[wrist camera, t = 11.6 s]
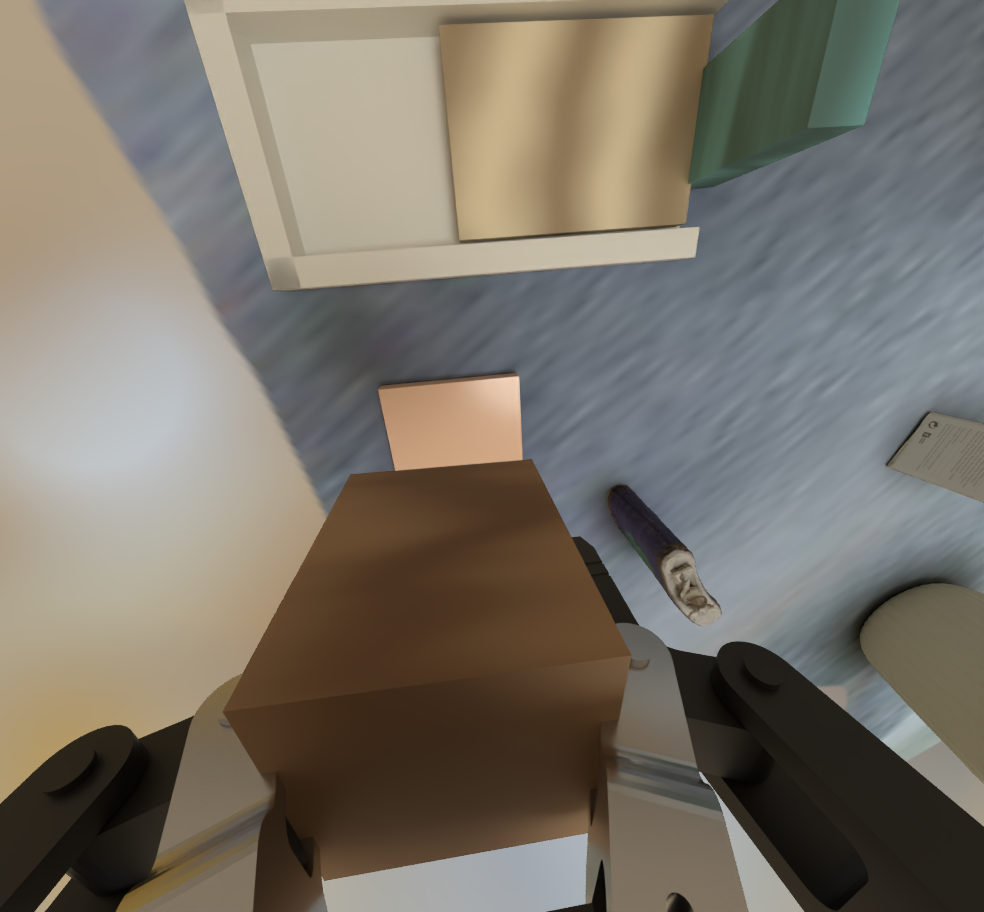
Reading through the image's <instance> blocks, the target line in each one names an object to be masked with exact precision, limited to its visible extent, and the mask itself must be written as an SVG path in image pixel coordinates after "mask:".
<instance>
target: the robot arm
mask: <svg viewBox="0 0 984 912" xmlns="http://www.w3.org/2000/svg"><path fill="white" fill-rule="evenodd" d="M572 539H573V541H574V543H575V545H576V547H577V549H578V551H579V553H580V555H581V557H582V559H583V561H584V563H585V565H586V567H587V569H588V571H589V573H590V575H591V577H592V579H593V581H594V583H595V585H596V587H597V589H598V591H599V593H600V594H601V596H602V598H603V600H604V602H605V604H606V606H607V608H608V610H609V612H610V614H611V616H612V618H613V620H614V622H615V624H616V626H617V628H618V630H619V632H620V634H621V636H622V638H623V640H624V642H625V644H626V646H627V648H628V650H629V652H630V653H631V655H632V656H631V661H630V666H629V671H628V676H627V681H626V687H625V692H624V697H623V702H622V707H621V712H620V717H619V719H615V720H609V721H602V722H601V723H600V729H599V735H598V788H596V789H590V793H589V799H588V846H587V864H586V904H584V905H579V906H573V907H568V908H563V909H559V910H553V911H548V912H748V908H747V904H746V900H745V896H744V893H743V889H742V885H741V881H740V877H739V873H738V869H737V865H736V862H735V858H734V854H733V850H732V846H731V842H730V839H729V835H728V831H727V827H726V823H725V819H724V816H723V812H722V809H721V806H720V803H719V801H718V799H717V796H716V794H715V792H714V791H713V789H714V790H715V791H716V793H717V794H718V795H719V797H720V798H721V799H722V801H723V802H724V803H725V805H726V806H727V807H728V809H729V810H730V811H731V813H732V814H733V816H734V817H735V818H736V820H737V821H738V822H739V824H740V825H741V826H742V828H743V829H744V830H745V832H746V833H747V835H748V836H749V837H750V839H751V840H752V841H753V842H754V844H755V845H756V847H757V848H758V849H759V851H760V852H761V854H762V855H763V856H764V858H765V859H766V860H767V862H768V863H769V864H770V866H771V867H772V868H773V870H774V871H775V872H776V874H777V875H778V877H779V878H780V879H781V881H782V882H783V883H784V884H785V886H786V887H787V889H788V890H789V891H790V893H791V894H792V895H793V897H794V898H795V900H796V901H797V902H798V904H799V905H800V906H801V908H802V909H803V910H804V912H984V826H982V825H981V824H980V823H979V822H977V821H976V820H975V819H974V818H973V817H971V816H970V815H969V814H968V813H967V812H966V811H964V810H963V809H962V808H961V807H959V806H958V805H957V804H956V803H955V802H954V801H952V800H951V799H950V798H949V797H948V796H946V795H945V794H944V793H943V792H942V791H940V790H939V789H938V788H937V787H936V786H934V785H933V784H932V783H931V782H930V781H928V780H927V779H926V778H925V777H924V776H922V775H921V774H920V773H919V772H918V771H916V770H915V769H914V768H913V767H912V766H910V765H909V764H908V763H907V762H906V761H904V760H903V759H902V758H901V757H900V756H899V755H897V754H896V753H895V752H894V751H893V750H891V749H890V748H889V747H888V746H887V745H885V744H884V743H883V742H882V741H881V740H879V739H878V738H877V737H876V736H875V735H873V734H872V733H871V732H870V731H869V730H867V729H866V728H865V727H864V726H863V725H861V724H860V723H859V722H858V721H857V720H855V719H854V718H853V717H852V716H851V715H849V714H848V713H847V712H846V711H845V710H843V709H842V708H841V707H840V706H839V705H837V704H836V703H835V702H834V701H833V700H831V699H830V698H829V697H828V696H827V695H825V694H824V693H823V692H822V691H821V690H819V689H818V688H817V687H816V686H815V685H814V684H812V683H811V682H810V681H809V680H808V679H806V678H805V677H804V676H803V675H802V674H800V673H799V672H798V671H797V670H796V669H794V668H793V667H792V666H791V665H790V664H788V663H787V662H786V661H785V660H783V659H782V658H781V657H779V656H778V655H776V654H775V653H773V652H771V651H769V650H767V649H765V648H763V647H761V646H758V645H755V644H752V643H747V642H738V641H737V642H730V643H727V644H725V645H724V646H722V647H721V648H720V650H719V652H718V654H717V657H713V656H707V655H701V654H695V653H690V652H684V651H679V650H675V649H672V648H669V647H667V646H666V645H665V644H664V643H663V641H662V640H661V639H660V638H659V637H657V636H656V635H655V634H654V633H652V632H651V631H649V630H648V629H646V628H644V627H641V626H639V624H638V623H637V621H636V620H635V618H634V616H633V614H632V613H631V611H630V609H629V607H628V606H627V604H626V602H625V601H624V599H623V597H622V595H621V594H620V592H619V590H618V588H617V587H616V585H615V583H614V581H613V580H612V578H611V576H609V573H608V571H607V569H606V568H605V566H604V564H602V561H601V559H600V557H599V555H598V554H597V552H596V550H595V549H594V547H593V546H591V545H590V544H589V543H588V542H586V541H585V540H584V539H583V538H581V537H572ZM292 582H293V581H292ZM291 584H292V583H291ZM290 586H291V585H290ZM284 597H285V596H284ZM279 606H280V605H279ZM278 608H279V607H278ZM277 610H278V609H277ZM272 619H273V618H272ZM271 621H272V620H271ZM270 623H271V622H270ZM269 625H270V624H269ZM264 634H265V633H264ZM263 636H264V635H263ZM262 638H263V637H262ZM258 645H259V644H258ZM257 647H258V646H257ZM256 649H257V648H256ZM255 651H256V650H255ZM252 656H253V655H252ZM251 658H252V657H251ZM250 660H251V659H250ZM249 662H250V661H249ZM244 671H245V670H244ZM243 673H244V672H243ZM242 675H243V674H240V675H238V676H236V677H234V678H232V679H231V680H229V681H227V682H226V683H224V684H223V685H221V686H220V687H219V688H217V690H215V691H214V692H213V693H212V694H211V695H210V696H209V697H208V698H207V699H206V700H205V701H204V702H203V704H202V705H201V706H200V707H199V709H198V710H197V712H196V714H195V715H194V716H192V717H190V718H188V719H185V720H183V721H181V722H178V723H176V724H174V725H171V726H169V727H166V728H164V729H161V730H159V731H157V732H154V733H152V734H149V735H147V736H145V737H142V738H140V739H138V738H137V737H136V736H135V735H134V733H133V732H132V731H131V730H130V729H129V728H127V727H125V726H122V725H112V726H106V727H103V728H100V729H97V730H94V731H92V732H90V733H88V734H86V735H84V736H82V737H80V738H78V739H76V740H74V741H73V742H71V743H70V744H68V745H67V746H65V747H64V748H62V749H61V750H59V751H58V752H57V753H55V754H54V755H53V756H52V757H50V758H49V759H48V760H47V761H45V762H44V763H43V764H42V765H41V766H40V767H39V768H38V769H37V770H36V771H34V772H33V773H32V774H31V775H30V776H29V777H28V778H27V779H26V780H25V781H24V782H23V783H22V784H21V785H20V786H19V787H18V788H17V789H16V790H15V791H13V792H12V793H11V794H10V795H9V796H8V797H7V798H6V799H5V800H4V801H3V802H2V803H1V804H0V912H34V911H35V910H36V909H37V908H38V906H39V905H40V904H41V903H42V902H43V900H44V899H45V898H46V897H47V895H48V894H49V893H50V892H51V890H52V889H53V888H54V887H55V886H56V884H57V883H58V882H59V881H60V879H61V878H62V877H63V876H64V875H65V873H66V874H67V875H68V876H70V877H71V880H70V881H69V882H68V884H67V885H66V886H65V887H64V888H63V890H62V891H61V892H60V893H59V895H58V896H57V897H56V899H55V900H54V901H53V902H52V904H51V905H50V906H49V908H48V909H47V910H46V911H45V912H328V911H327V906H326V902H325V898H324V894H323V887H322V879H321V861H320V848H319V846H318V845H317V843H316V841H315V839H314V837H308V838H302V839H299V838H298V836H297V834H296V833H295V831H294V829H293V828H292V826H291V824H290V823H289V821H288V819H287V818H286V816H285V803H286V788H285V786H284V784H283V782H282V781H281V779H280V777H279V775H278V774H277V772H270V773H263V774H260V773H259V771H258V770H257V768H256V766H255V765H254V763H253V761H252V760H251V758H250V756H249V755H248V753H247V751H246V750H245V748H244V747H243V745H242V743H241V742H240V740H239V738H238V737H237V735H236V733H235V732H234V730H233V728H232V727H231V725H230V723H229V722H228V720H227V718H226V717H225V715H224V713H223V710H224V708H225V706H226V704H227V702H228V701H229V699H230V697H231V695H232V693H233V691H234V689H235V688H236V686H237V684H238V682H239V680H240V678H241V676H242ZM699 771H700V772H702V774H703V775H704V776H705V778H706V779H707V780H708V782H709V783H710V784H711V786H712V787H713V789H712V788H711V786H709V785H708V784H706V783H704V782H703V780H702V779H701V777H700V774H699Z"/></svg>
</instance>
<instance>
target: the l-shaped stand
mask: <svg viewBox="0 0 984 912" xmlns="http://www.w3.org/2000/svg"><path fill="white" fill-rule="evenodd" d="M899 3H900V0H779V1H777V2H776V3H775V4H774V5H773V6H772V7H771V8H770V9H769V10H768V11H766V12H765V13H764V14H763V15H762V16H761V17H760V18H759V19H758V20H756V21H755V22H754V23H753V24H752V25H751V26H750V27H749V28H748V29H746V30H745V31H744V32H743V33H742V34H741V35H740V36H739V37H738V38H736V39H735V40H734V41H733V42H732V43H731V44H730V45H729V46H728V47H727V48H725V49H724V50H723V51H722V52H721V53H720V54H719V55H718V56H717V57H715V58H714V59H713V60H712V61H711V62H710V63H709V64H708V56H709V49H710V42H711V34H712V27H713V19H714V14H712V15H685V16H659V17H633V18H607V19H580V20H554V21H528V22H501V23H475V24H449V25H439V38H440V49H441V60H442V70H443V80H444V90H445V101H446V111H447V121H448V131H449V142H450V152H451V162H452V172H453V183H454V193H455V203H456V213H457V224H458V234H459V243H464V242H477V241H491V240H505V239H518V238H532V237H545V236H559V235H573V234H586V233H600V232H613V231H627V230H641V229H654V228H668V227H676V226H680V225H683V224H686V218H687V211H688V203H689V196H690V189H691V188H705V187H714V186H717V185H719V184H722V183H724V182H726V181H729V180H731V179H734V178H736V177H739V176H741V175H743V174H746V173H748V172H751V171H753V170H756V169H758V168H761V167H763V166H765V165H768V164H770V163H773V162H775V161H778V160H780V159H782V158H785V157H787V156H790V155H792V154H795V153H797V152H799V151H802V150H804V149H807V148H809V147H812V146H814V145H817V144H819V143H821V142H824V141H826V140H829V139H831V138H834V137H836V136H838V135H841V134H843V133H846V132H848V131H851V130H853V129H855V128H858V127H860V126H863V125H864V124H865V120H866V117H867V113H868V110H869V107H870V103H871V100H872V96H873V93H874V89H875V86H876V82H877V79H878V75H879V72H880V69H881V65H882V62H883V58H884V55H885V51H886V48H887V44H888V41H889V37H890V34H891V31H892V27H893V24H894V20H895V17H896V13H897V10H898V6H899ZM707 64H708V65H707Z"/></svg>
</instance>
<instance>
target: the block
mask: <svg viewBox="0 0 984 912" xmlns="http://www.w3.org/2000/svg"><path fill="white" fill-rule="evenodd" d="M631 656H632V655H631V653H630V652H629V650H628V648H627V646H626V644H625V642H624V640H623V638H622V636H621V634H620V632H619V630H618V628H617V626H616V624H615V622H614V620H613V618H612V616H611V614H610V612H609V610H608V608H607V606H606V604H605V602H604V600H603V598H602V596H601V594H600V593H599V591H598V589H597V587H596V585H595V583H594V581H593V579H592V577H591V575H590V573H589V571H588V569H587V567H586V565H585V563H584V561H583V559H582V557H581V555H580V553H579V551H578V549H577V547H576V545H575V543H574V541H573V539H572V537H571V535H570V534H569V532H568V530H567V528H566V526H565V524H564V522H563V520H562V518H561V516H560V514H559V512H558V510H557V508H556V506H555V504H554V502H553V500H552V498H551V496H550V494H549V492H548V490H547V488H546V486H545V484H544V482H543V480H542V478H541V476H540V475H539V473H538V471H537V469H536V467H535V465H534V463H533V461H532V459H528V460H516V461H504V462H492V463H481V464H469V465H457V466H445V467H433V468H421V469H410V470H398V471H386V472H374V473H362V474H350V476H349V478H348V480H347V482H346V484H345V486H344V487H343V489H342V491H341V493H340V495H339V497H338V499H337V500H336V502H335V504H334V506H333V508H332V510H331V512H330V513H329V515H328V517H327V519H326V521H325V523H324V524H323V527H322V528H321V530H320V532H319V534H318V536H317V537H316V539H315V541H314V543H313V545H312V547H311V549H310V551H309V552H308V554H307V556H306V558H305V560H304V562H303V563H302V565H301V567H300V569H299V571H298V573H297V575H296V576H295V578H294V580H293V582H292V584H291V586H290V587H289V589H288V591H287V593H286V595H285V597H284V599H283V600H282V602H281V604H280V606H279V608H278V610H277V612H276V613H275V615H274V617H273V619H272V621H271V623H270V625H269V626H268V628H267V630H266V632H265V634H264V636H263V638H262V639H261V641H260V643H259V645H258V647H257V649H256V651H255V652H254V654H253V656H252V658H251V660H250V662H249V663H248V665H247V667H246V669H245V671H244V673H243V675H242V676H241V678H240V680H239V682H238V684H237V686H236V688H235V689H234V691H233V693H232V695H231V697H230V699H229V701H228V702H227V704H226V706H225V708H224V710H223V713H224V715H225V717H226V718H227V720H228V722H229V723H230V725H231V727H232V728H233V730H234V732H235V733H236V735H237V737H238V738H239V740H240V742H241V743H242V745H243V747H244V748H245V750H246V751H247V753H248V755H249V756H250V758H251V760H252V761H253V763H254V765H255V766H256V768H257V770H258V771H259V773H260V774H263V773H270V772H277V774H278V775H279V777H280V779H281V781H282V782H283V784H284V786H285V788H286V803H285V816H286V818H287V819H288V821H289V823H290V824H291V826H292V828H293V829H294V831H295V833H296V834H297V836H298V838H299V839H302V838H308V837H314V839H315V841H316V843H317V845H318V846H319V848H320V861H321V876H322V877H323V879H324V881H326V880H331V879H337V878H342V877H348V876H353V875H358V874H364V873H370V872H375V871H380V870H386V869H392V868H397V867H403V866H408V865H414V864H419V863H425V862H431V861H436V860H442V859H446V858H452V857H458V856H464V855H469V854H475V853H480V852H486V851H491V850H497V849H502V848H508V847H513V846H519V845H524V844H529V843H535V842H541V841H546V840H552V839H557V838H563V837H568V836H574V835H580V834H585V833H588V799H589V793H590V789H596V788H598V735H599V729H600V723H601V722H602V721H609V720H615V719H619V717H620V712H621V707H622V702H623V697H624V692H625V687H626V681H627V676H628V671H629V666H630V661H631Z"/></svg>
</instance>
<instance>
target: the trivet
mask: <svg viewBox="0 0 984 912" xmlns="http://www.w3.org/2000/svg"><path fill="white" fill-rule="evenodd" d="M378 392H379V397H380V402H381V406H382V411H383V415H384V420H385V425H386V429H387V434H388V439H389V443H390V448H391V453H392V457H393V462H394V466H395V471H398V470H410V469H421V468H433V467H445V466H457V465H469V464H481V463H492V462H504V461H516V460H522V435H521V411H520V387H519V375H518V374H517V373H509V374H499V375H488V376H478V377H467V378H457V379H446V380H436V381H425V382H415V383H404V384H394V385H384V386H381V387H380V388H379V389H378Z"/></svg>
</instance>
